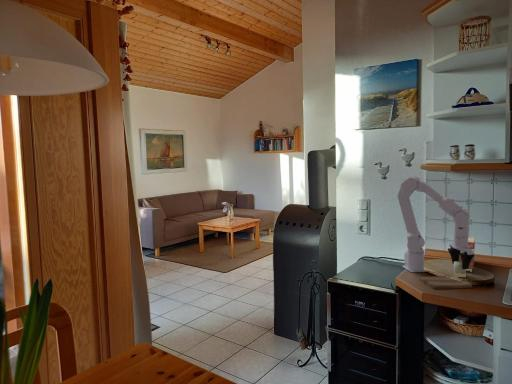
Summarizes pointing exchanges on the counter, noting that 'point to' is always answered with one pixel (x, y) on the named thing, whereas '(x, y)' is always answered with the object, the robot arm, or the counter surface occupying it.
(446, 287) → the board
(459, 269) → the cylinder
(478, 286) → the counter surface
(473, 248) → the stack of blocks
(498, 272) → the counter surface
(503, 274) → the counter surface
